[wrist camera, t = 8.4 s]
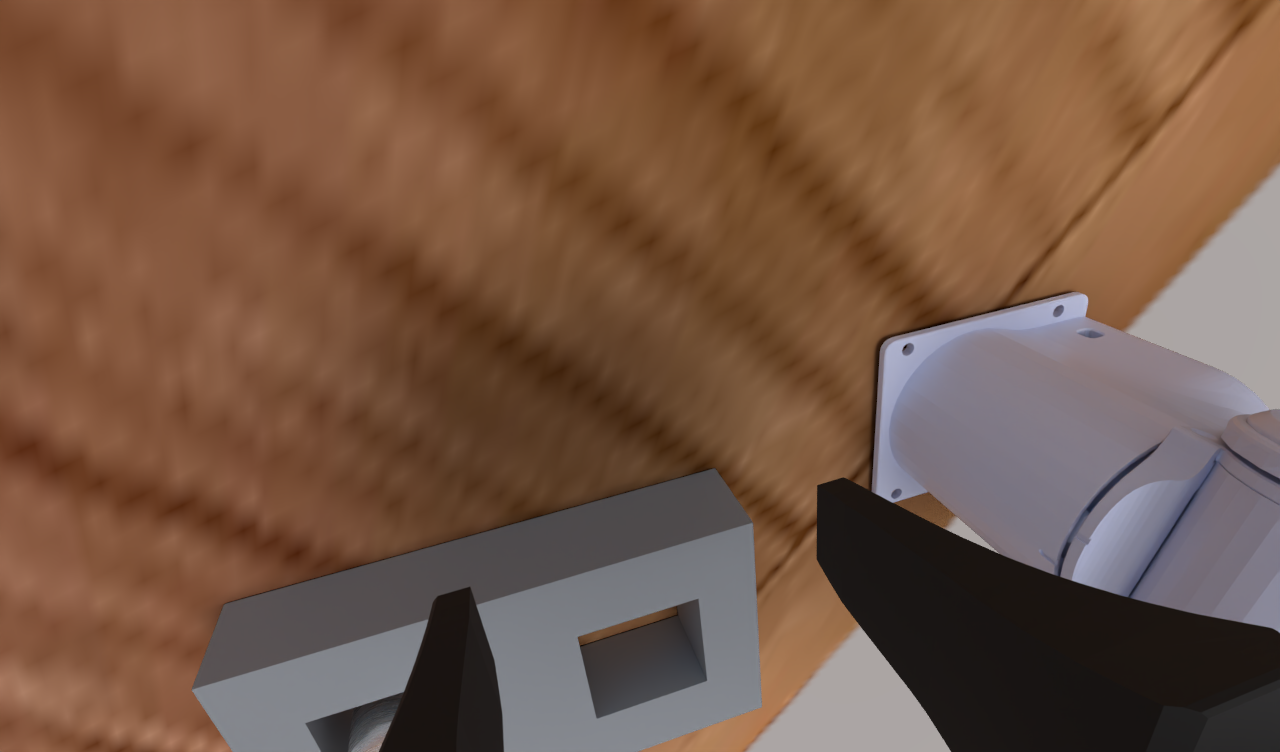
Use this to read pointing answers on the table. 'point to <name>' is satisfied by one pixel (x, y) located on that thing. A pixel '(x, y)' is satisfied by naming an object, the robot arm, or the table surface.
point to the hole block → (516, 629)
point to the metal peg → (372, 723)
